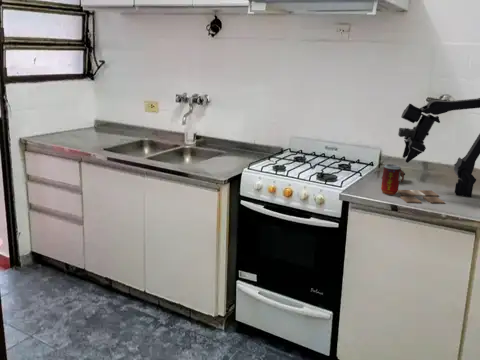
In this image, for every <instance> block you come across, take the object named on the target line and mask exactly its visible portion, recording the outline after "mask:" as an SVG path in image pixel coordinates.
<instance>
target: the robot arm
mask: <svg viewBox="0 0 480 360" xmlns="http://www.w3.org/2000/svg"><path fill="white" fill-rule="evenodd" d="M470 109H471V110H474V109H480V97H476V98H470V99H469V98H468V99H459V100H445V99H444V100H443V99H431V100H429V101H428V103H427V104H425V105H423V106H421V107H420V108H419V107H417V106H416V105H413V104H412V103H409V104H408V105H407V106H406V108H405V109H403V111H402V114H401V118H402V119H404V120H406V121H408V122H409V123H412V124H414V123H417V124H416V125H415V126H413V127H412V128H409V127H399V129H398V134H397V135H398V137H400V138H403V139H404V144H405V145H404V150H403V154H402V158H403V159H405V163H408V164H409V162H412V161H413V159H416V157H418V156H419V155H421V154H423V153H424V152H425V150H426V149H427V148H426V145H425V144H424V143H425V140H426V137H428V136H429V135H430V133H429V132H430V131H431V129H432V126H434V124H435V122H436V123H438V124H440V123H441V120H440V118H439V117H440V115H442V114H446V113H448V112H451V111H460V110H470ZM479 156H480V133H479V134H478V136H477V137H476V139H475V140H474V141H473V144H472V145H471V146H470V148H469V149H468V152H467V153H466V154H465V156H464V157H462V158H461V157H458V159H456V160H457V161H456V162H455V163H454V164H453V167H454V168H453V171H454V173H455V174H456V176H457V178H458V179H457V182H455V186H454V193H455V196H459V197H466V198H472V197H473V189H474V184H475V183H476V181H477V178H476V177H475V176H474V175H473V171H474V169H475V165H476V161H477V159H478V158H479Z"/></svg>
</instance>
